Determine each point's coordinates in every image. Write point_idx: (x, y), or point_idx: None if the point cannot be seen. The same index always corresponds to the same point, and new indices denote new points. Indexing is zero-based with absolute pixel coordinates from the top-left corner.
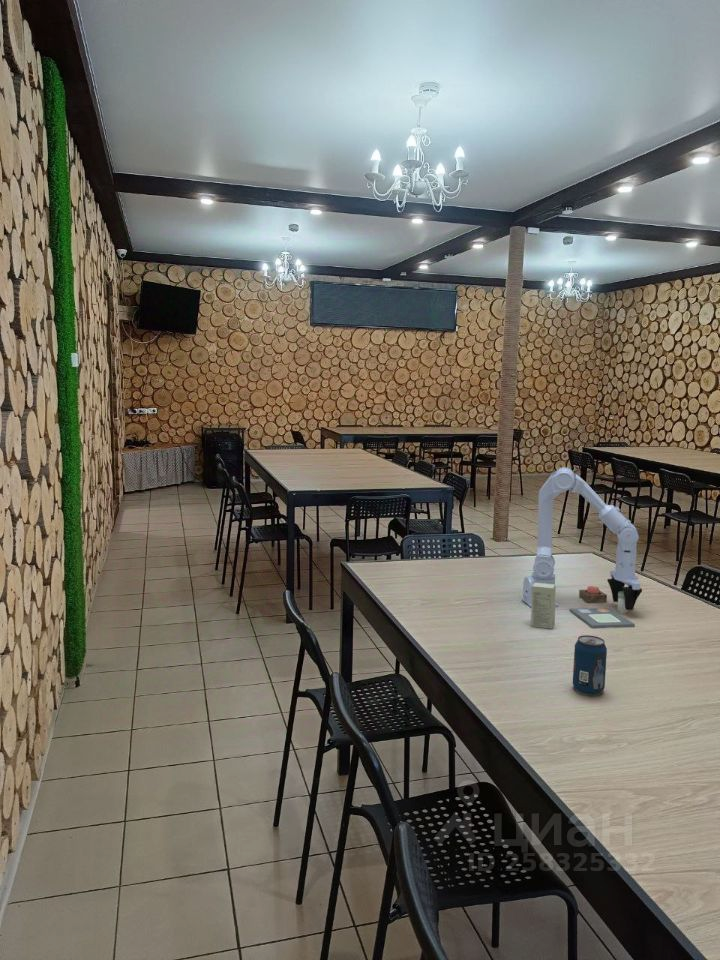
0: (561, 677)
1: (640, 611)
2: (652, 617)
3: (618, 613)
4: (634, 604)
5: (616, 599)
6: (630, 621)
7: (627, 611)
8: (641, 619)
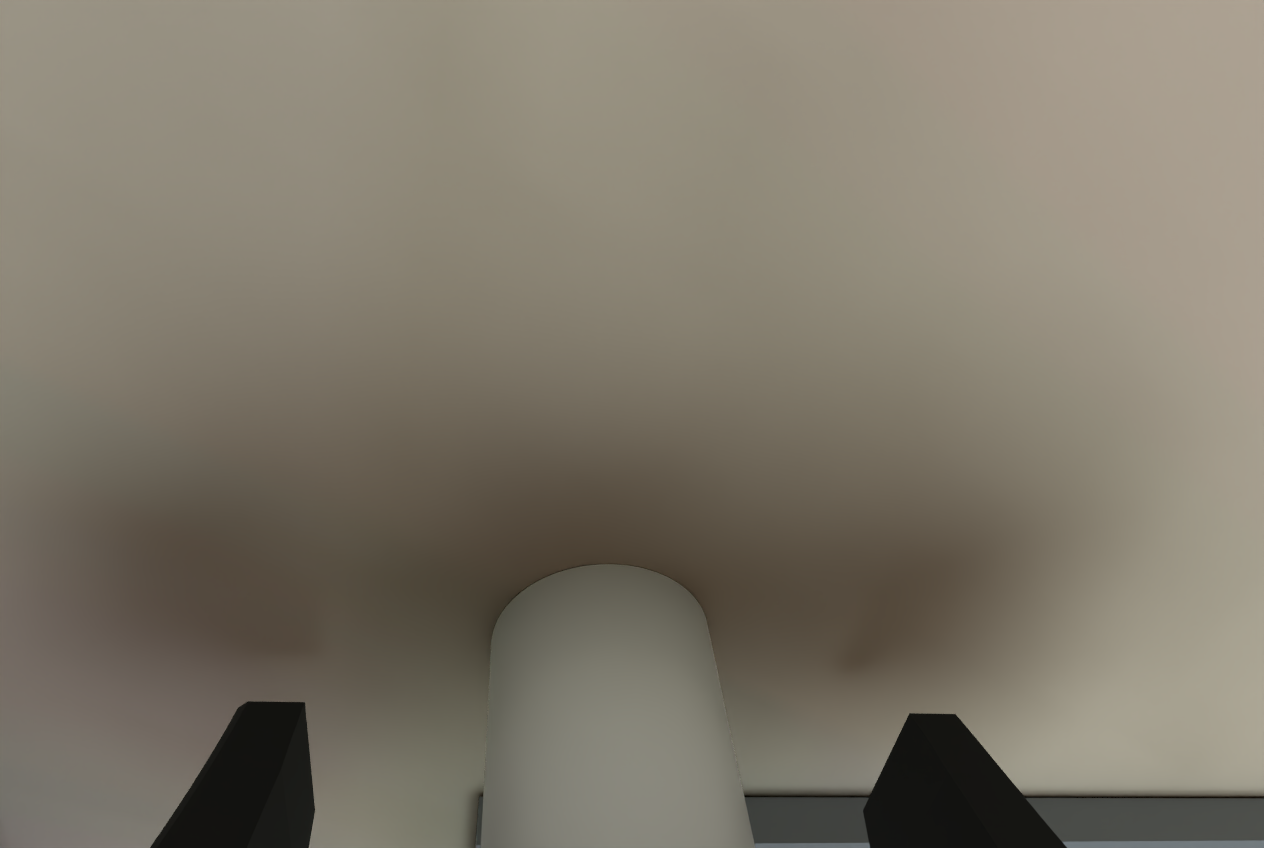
0: None
1: (716, 275)
2: (1225, 265)
3: (831, 843)
4: (1051, 836)
5: (293, 846)
6: (1229, 844)
7: (697, 613)
8: (1158, 560)
